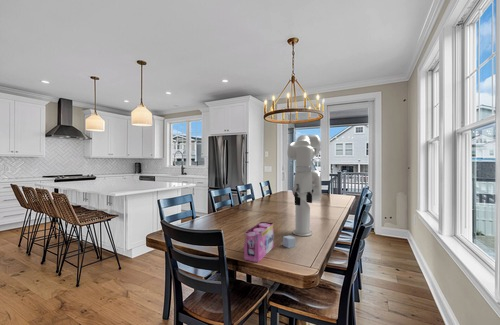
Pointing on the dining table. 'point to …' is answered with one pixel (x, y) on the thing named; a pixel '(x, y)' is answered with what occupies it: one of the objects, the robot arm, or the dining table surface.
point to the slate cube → (289, 241)
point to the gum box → (258, 241)
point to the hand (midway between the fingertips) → (303, 203)
